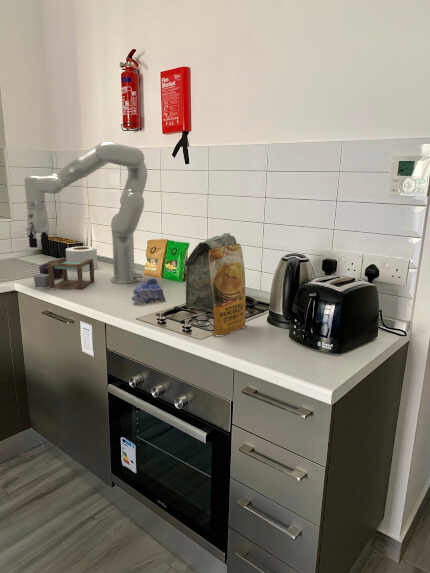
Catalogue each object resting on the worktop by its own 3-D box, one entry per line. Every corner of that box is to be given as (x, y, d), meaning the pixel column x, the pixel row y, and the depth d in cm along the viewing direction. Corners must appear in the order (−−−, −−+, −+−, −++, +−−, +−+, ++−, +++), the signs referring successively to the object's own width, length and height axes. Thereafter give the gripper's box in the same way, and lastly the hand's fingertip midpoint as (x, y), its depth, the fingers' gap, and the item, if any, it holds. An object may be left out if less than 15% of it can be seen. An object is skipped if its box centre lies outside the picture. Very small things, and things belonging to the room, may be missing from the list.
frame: (94, 281, 203) (93, 258, 201) (81, 289, 189) (80, 265, 187) (64, 280, 205) (63, 257, 202) (49, 288, 191) (47, 263, 188)
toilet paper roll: (60, 269, 229) (59, 248, 226) (84, 264, 241) (83, 244, 239) (80, 273, 221) (79, 252, 218) (103, 268, 233) (102, 247, 230)
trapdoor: (87, 264, 200) (87, 262, 200) (77, 269, 189) (77, 267, 189) (66, 263, 201) (65, 261, 201) (54, 268, 190) (54, 266, 190)
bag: (209, 294, 186) (210, 230, 179) (243, 300, 179) (246, 233, 172) (181, 308, 166) (181, 236, 160) (218, 315, 159) (220, 240, 152)
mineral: (154, 274, 181) (167, 277, 173) (157, 296, 184) (170, 300, 176) (122, 283, 173) (134, 286, 165) (126, 305, 175) (138, 310, 168)
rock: (39, 280, 210) (50, 283, 204) (34, 263, 207) (45, 265, 201) (61, 272, 218) (72, 275, 212) (57, 256, 215) (68, 258, 209)
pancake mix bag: (199, 334, 140) (200, 247, 133) (237, 320, 154) (240, 241, 147) (215, 340, 136) (217, 250, 129) (253, 325, 149) (256, 243, 142)
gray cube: (51, 285, 197) (50, 274, 196) (45, 288, 192) (44, 276, 191) (40, 284, 197) (39, 273, 196) (34, 287, 193) (33, 276, 191)
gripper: (34, 207, 177) (37, 249, 181) (54, 204, 194) (57, 242, 198) (16, 206, 178) (20, 248, 182) (38, 204, 195) (41, 242, 199)
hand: (39, 245), depth 190 cm, fingers open, 9 cm apart
